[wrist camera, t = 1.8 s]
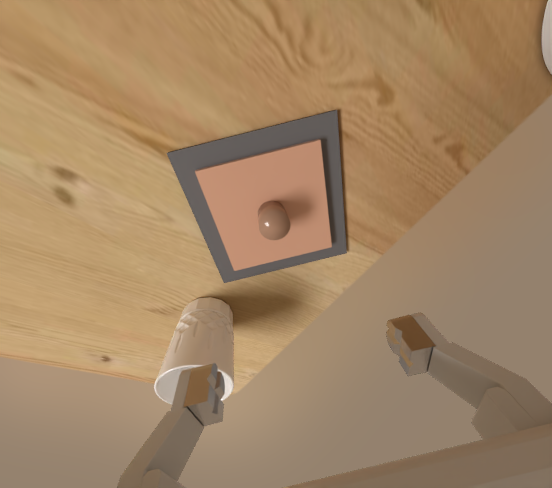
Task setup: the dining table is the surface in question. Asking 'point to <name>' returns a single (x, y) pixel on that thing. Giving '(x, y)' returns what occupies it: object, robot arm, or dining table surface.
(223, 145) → the mat
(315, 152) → the lid
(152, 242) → the dining table surface
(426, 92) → the dining table surface
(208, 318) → the white cup
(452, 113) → the dining table surface
